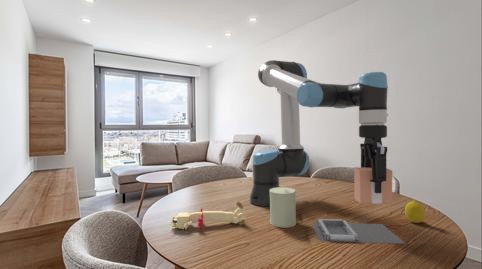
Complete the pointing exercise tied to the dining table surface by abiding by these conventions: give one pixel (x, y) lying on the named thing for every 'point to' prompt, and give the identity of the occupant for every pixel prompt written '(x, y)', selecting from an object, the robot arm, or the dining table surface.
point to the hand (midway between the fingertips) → (372, 200)
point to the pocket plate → (353, 232)
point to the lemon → (414, 212)
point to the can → (282, 207)
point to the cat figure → (207, 217)
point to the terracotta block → (364, 186)
